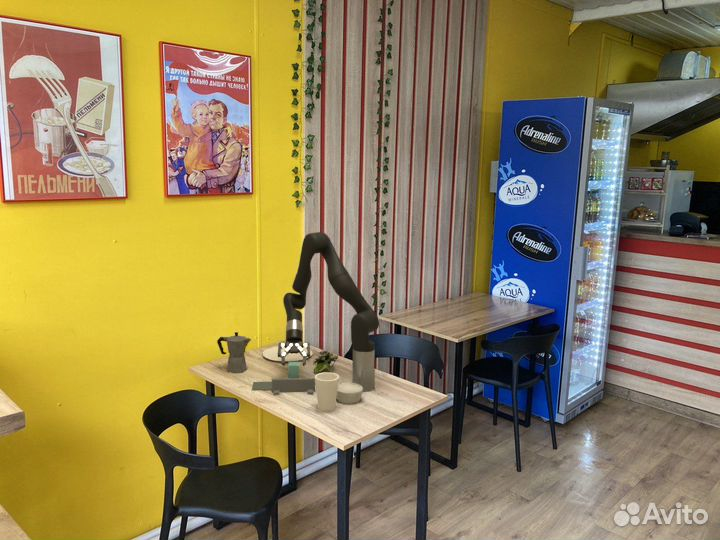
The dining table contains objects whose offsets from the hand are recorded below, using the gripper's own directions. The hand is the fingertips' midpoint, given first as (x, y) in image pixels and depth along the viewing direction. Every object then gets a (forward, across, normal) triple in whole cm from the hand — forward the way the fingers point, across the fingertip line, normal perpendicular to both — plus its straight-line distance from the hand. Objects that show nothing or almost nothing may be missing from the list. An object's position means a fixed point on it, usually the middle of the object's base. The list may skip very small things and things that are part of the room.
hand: (293, 365), depth 242 cm
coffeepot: (-7, -27, +19) cm, 34 cm away
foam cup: (+25, +13, -13) cm, 31 cm away
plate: (-21, -3, +33) cm, 39 cm away
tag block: (+8, 0, +4) cm, 9 cm away
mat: (+8, -13, +4) cm, 16 cm away
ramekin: (+19, +22, -7) cm, 30 cm away
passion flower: (-4, +15, +16) cm, 22 cm away
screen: (+13, 0, -2) cm, 13 cm away
